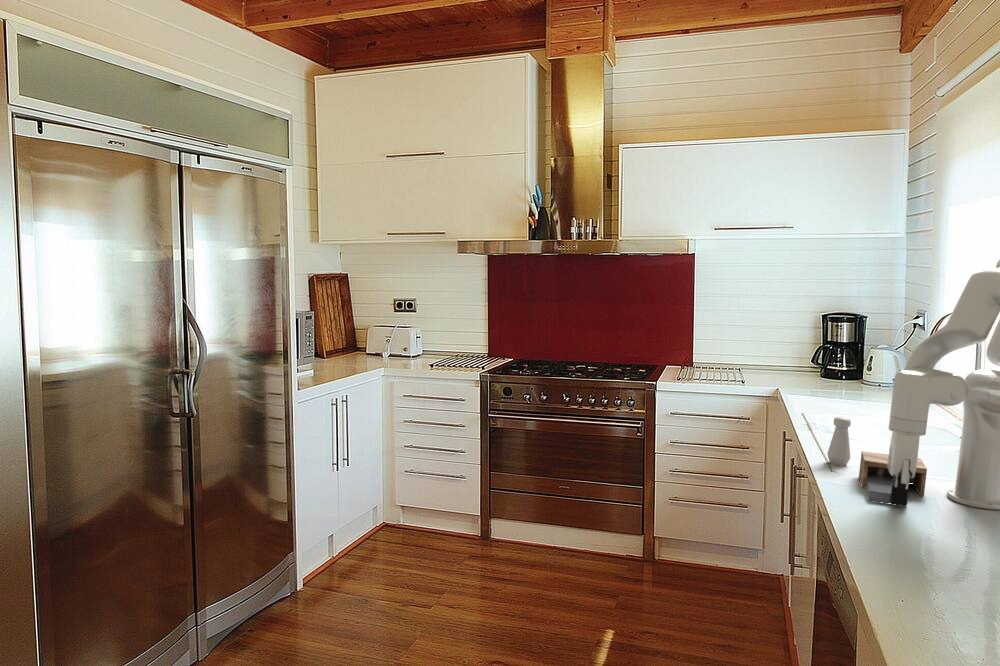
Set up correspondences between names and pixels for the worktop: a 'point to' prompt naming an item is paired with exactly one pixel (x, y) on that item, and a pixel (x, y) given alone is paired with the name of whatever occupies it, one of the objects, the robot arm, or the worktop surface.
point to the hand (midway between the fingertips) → (898, 503)
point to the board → (879, 488)
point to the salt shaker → (840, 442)
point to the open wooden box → (878, 466)
